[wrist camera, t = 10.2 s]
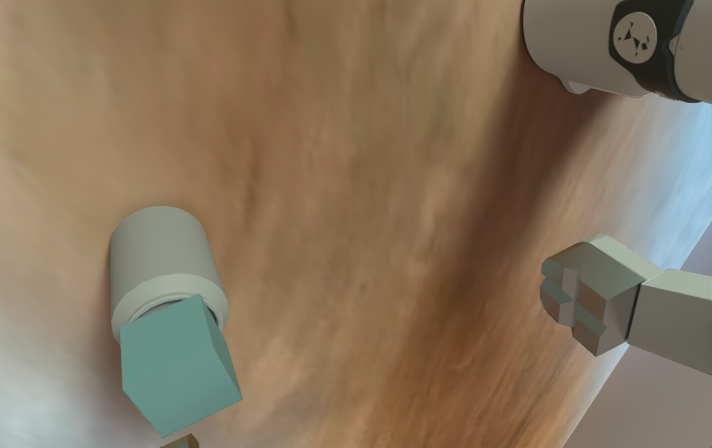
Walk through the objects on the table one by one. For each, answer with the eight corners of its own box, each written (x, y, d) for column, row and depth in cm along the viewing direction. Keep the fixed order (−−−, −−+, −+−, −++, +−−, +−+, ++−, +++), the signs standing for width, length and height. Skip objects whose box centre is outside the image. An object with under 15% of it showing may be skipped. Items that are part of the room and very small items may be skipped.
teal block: (199, 293, 31) (213, 347, 27) (226, 343, 34) (242, 398, 30) (119, 327, 29) (122, 389, 26) (155, 376, 32) (162, 438, 29)
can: (212, 263, 44) (241, 356, 35) (124, 286, 42) (130, 393, 32) (195, 191, 40) (224, 275, 31) (96, 212, 37) (94, 310, 28)
